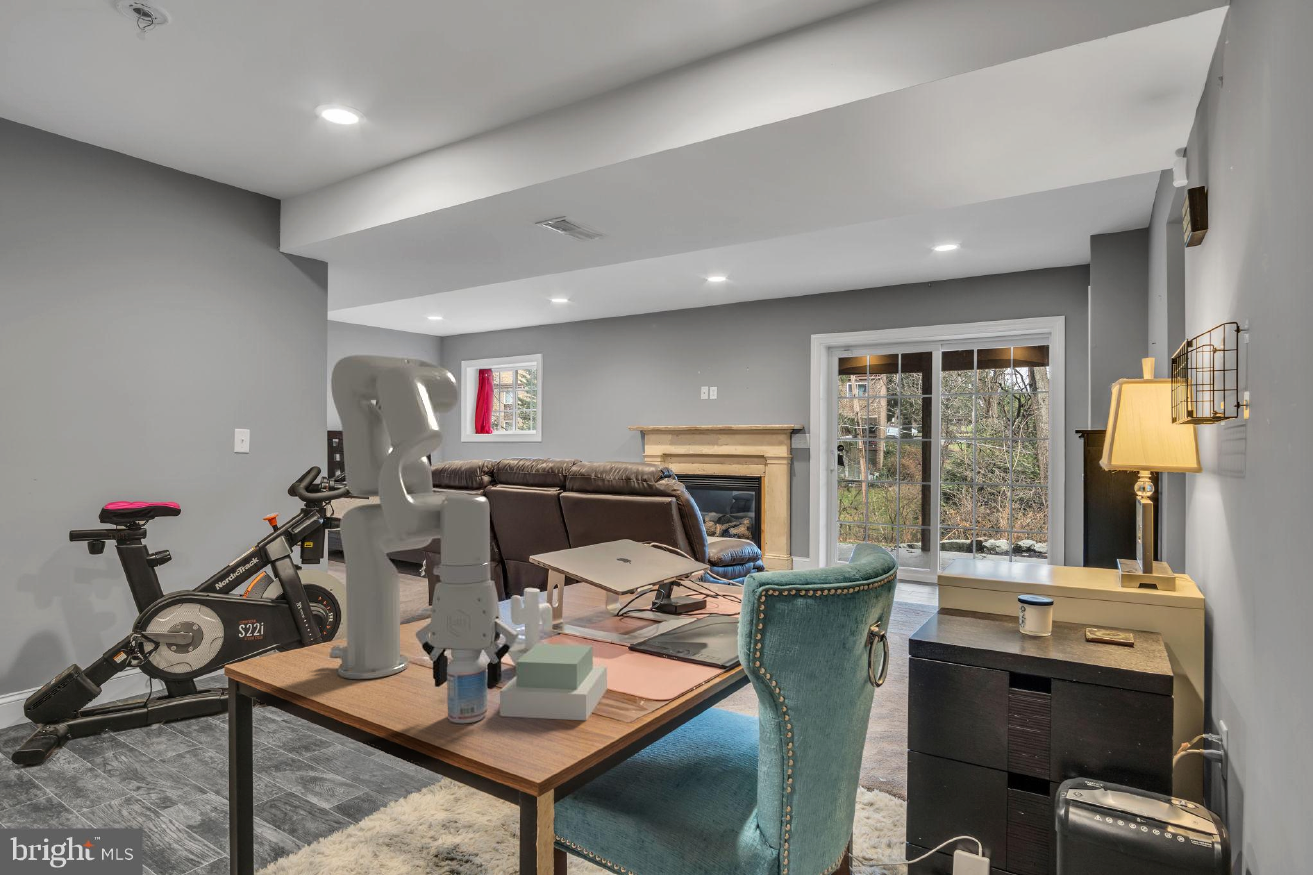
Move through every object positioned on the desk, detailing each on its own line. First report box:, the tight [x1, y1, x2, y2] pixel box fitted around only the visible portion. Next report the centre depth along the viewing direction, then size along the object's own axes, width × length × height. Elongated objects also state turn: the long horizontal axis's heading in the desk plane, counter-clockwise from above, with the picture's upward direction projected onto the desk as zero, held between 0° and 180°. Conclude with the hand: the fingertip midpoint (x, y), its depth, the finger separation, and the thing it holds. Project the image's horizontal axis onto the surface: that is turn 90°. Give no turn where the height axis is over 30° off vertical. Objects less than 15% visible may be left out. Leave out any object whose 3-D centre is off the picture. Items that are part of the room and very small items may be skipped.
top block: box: [515, 643, 594, 689], centre depth 116 cm, size 10×10×4 cm
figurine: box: [506, 587, 553, 667], centre depth 135 cm, size 7×9×15 cm
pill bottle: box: [446, 649, 488, 724], centre depth 110 cm, size 6×6×11 cm
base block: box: [499, 664, 608, 721], centre depth 116 cm, size 14×14×4 cm
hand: (467, 684), depth 110 cm, fingers open, 8 cm apart
